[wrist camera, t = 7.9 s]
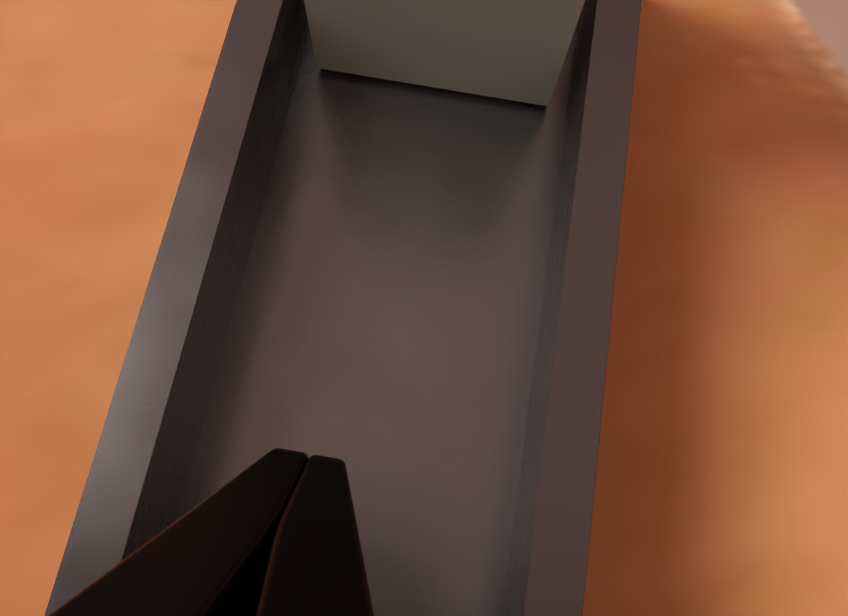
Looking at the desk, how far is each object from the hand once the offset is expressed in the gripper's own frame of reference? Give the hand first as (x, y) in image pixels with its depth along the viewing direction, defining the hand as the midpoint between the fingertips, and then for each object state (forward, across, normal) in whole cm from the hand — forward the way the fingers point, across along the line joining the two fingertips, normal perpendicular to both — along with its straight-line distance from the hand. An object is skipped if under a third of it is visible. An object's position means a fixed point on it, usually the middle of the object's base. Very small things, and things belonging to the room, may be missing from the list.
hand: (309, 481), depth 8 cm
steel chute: (+9, 0, +2) cm, 9 cm away
